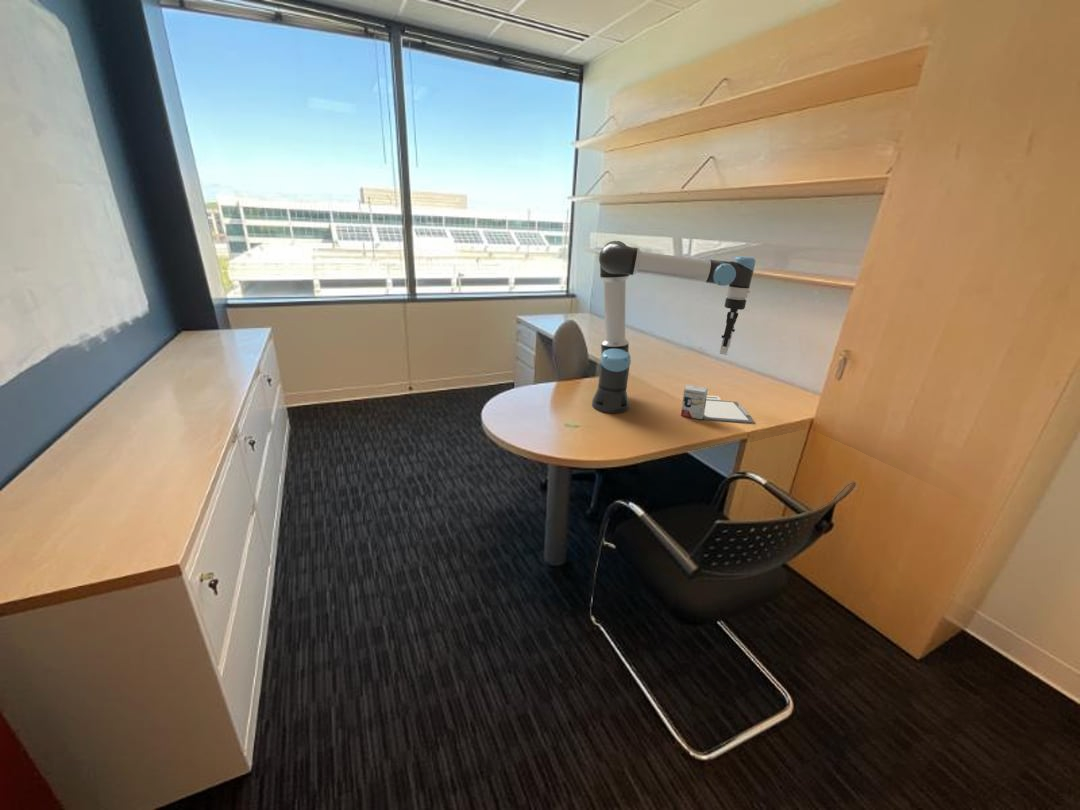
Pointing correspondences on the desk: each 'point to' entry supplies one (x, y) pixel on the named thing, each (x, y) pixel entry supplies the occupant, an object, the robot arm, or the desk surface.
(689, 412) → the ink box
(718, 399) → the word card
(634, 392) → the desk surface
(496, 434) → the desk surface
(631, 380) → the desk surface
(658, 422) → the desk surface
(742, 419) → the whiteboard
